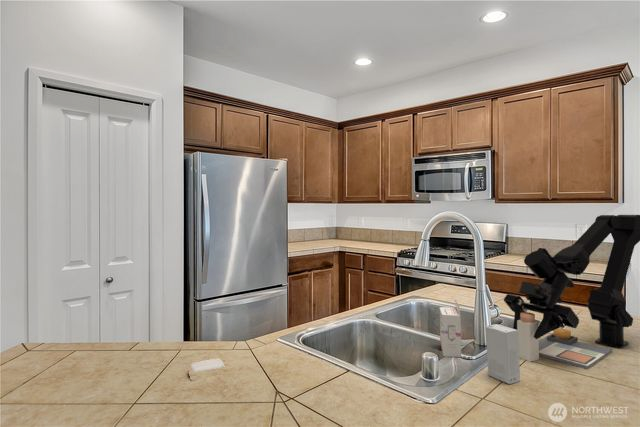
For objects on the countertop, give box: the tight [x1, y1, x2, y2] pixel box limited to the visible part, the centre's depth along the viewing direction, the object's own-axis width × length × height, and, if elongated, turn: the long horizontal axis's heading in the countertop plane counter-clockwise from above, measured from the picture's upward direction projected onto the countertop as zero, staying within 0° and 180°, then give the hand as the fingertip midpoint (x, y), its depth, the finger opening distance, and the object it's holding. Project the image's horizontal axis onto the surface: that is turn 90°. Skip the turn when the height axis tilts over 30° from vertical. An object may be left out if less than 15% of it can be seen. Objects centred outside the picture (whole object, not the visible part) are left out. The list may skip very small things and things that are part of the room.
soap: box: [189, 357, 225, 372], centre depth 97 cm, size 9×7×3 cm
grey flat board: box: [539, 333, 613, 370], centre depth 107 cm, size 18×16×2 cm
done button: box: [552, 328, 572, 339], centre depth 113 cm, size 4×4×2 cm
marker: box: [517, 311, 540, 363], centre depth 102 cm, size 4×4×12 cm
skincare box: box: [485, 323, 521, 385], centre depth 91 cm, size 6×4×12 cm
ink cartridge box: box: [439, 297, 462, 358], centre depth 108 cm, size 9×5×15 cm, turn 168°
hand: (524, 334), depth 102 cm, fingers open, 6 cm apart
